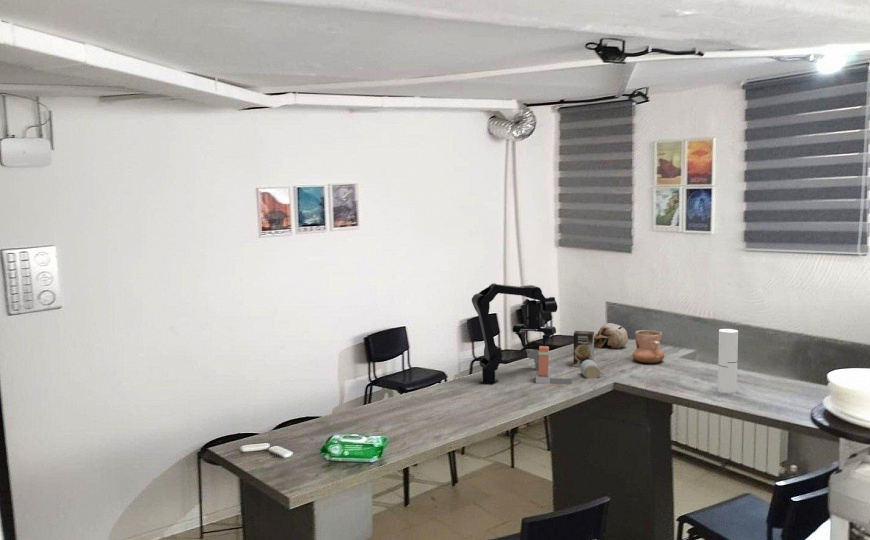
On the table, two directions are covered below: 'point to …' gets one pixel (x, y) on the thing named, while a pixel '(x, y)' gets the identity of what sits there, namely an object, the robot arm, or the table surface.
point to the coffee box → (583, 347)
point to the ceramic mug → (591, 369)
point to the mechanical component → (534, 357)
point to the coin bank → (611, 336)
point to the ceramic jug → (648, 347)
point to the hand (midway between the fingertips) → (534, 348)
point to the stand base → (550, 380)
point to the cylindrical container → (727, 360)
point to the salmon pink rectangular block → (543, 360)
